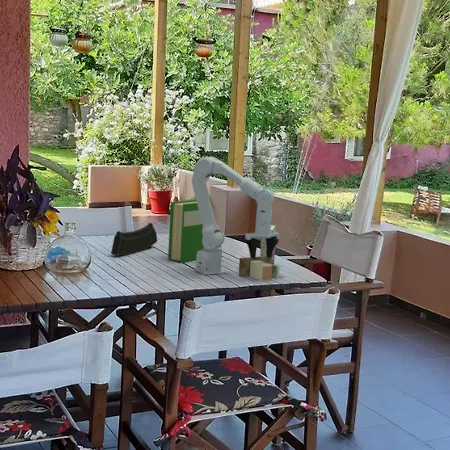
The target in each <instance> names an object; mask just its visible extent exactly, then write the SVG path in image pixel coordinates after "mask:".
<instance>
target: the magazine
mask: <svg viewBox="0 0 450 450" xmlns="http://www.w3.org/2000/svg"><path fill="white" fill-rule="evenodd" d="M157 242H158V235H157V232H156V229H155V227H154V224H153V223H152V222H149V223H147V225H145V226H143V227H142V228H139V229H136V230H132V231H127V232H121V231H119V230H118V231H116V233H115V236H114V237H113V242H112V247H111V252H110V254H111V255H114V256H121V255H124V256H125V255H133V254H137V253H140V252H143V251H145V250H147V249H148V248H149V249H152V246H153V245H155V244H156V243H157Z"/></svg>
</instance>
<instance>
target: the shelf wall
mask: <svg viewBox="0 0 450 450" xmlns="http://www.w3.org/2000/svg"><path fill="white" fill-rule="evenodd" d="M258 260H259V261H262V262H265V263H270V257H267V256H260V255H259V256H256V257H255V259H253V258H250V257H249V256H248V257H239V264H238V268H239V269H238V277H240V278H242V277H250V261H258Z"/></svg>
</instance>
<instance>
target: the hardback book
mask: <svg viewBox="0 0 450 450" xmlns="http://www.w3.org/2000/svg"><path fill="white" fill-rule="evenodd" d="M210 201H211V205H212V206H213V201H212V200H210ZM169 211H170V213H169V228H168V229H169V231H168V232H169V233H168V234H169V235H168V253H167V261H169V262H170V261H179V263H180V264H185V263H190V262H196V255H197V252H198V251H200V250H203V248H204V246H203V244H202V239H203V234H202V230H203V224H202V220H201V216H200V213H199V209H198V205H197V201H196V199H191V200H189V199H187V200H179V201H170V209H169Z"/></svg>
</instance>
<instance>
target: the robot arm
mask: <svg viewBox="0 0 450 450" xmlns="http://www.w3.org/2000/svg"><path fill="white" fill-rule="evenodd" d="M193 168H194V169H193V173H192V178H191V185H192V189H193V193H194V196H195V200H196V201H197V205H198V209H199V213H200V216H201V220H202V224H203V230H202V234H203V239H202V244H203V246H204V248H203V250H200V251H198V252H197V255H196V261H195V268H194V271H195V272H198V273H199V274H202V275H206V276H207V275H218V274H226V271H225V270H222V258H223V247H222V245H223V244H224V242H225V235H224V233H223V232H222V230H221V228H220V226H219V224H218V223H217V221H216V218H215V214H214V209H213V204H212V205H211V201H212V200H211V198H210V193H209V191H208V187H207V182H208V180H210V177H211V176H212V175H215V174H216V175H223V176H224V177H225V178H227V179H229V180H231V181H232V182H234V183H235V184H237V185H238V186H239V189H240V191H242V193H244V194H246V195H247V196H248V197H250V198H251V199H253V200H255V201H256V203H257V206H256V207H257V208H256V216H255V218H256V219H255V231H254V232H250V233H245V237H244V239H245V242H246V244H247V247H248V251H249V256H250V258H253V259H255V257H257V249H258V245H259V241H258V240H261V239H266V246H267V249H266V256H267V257H271V256H272V253H273V250H274V248H275V249H276V246H277V245H278V243H279V239H280V233H279V232H277V231H276V232H271V225H272V217H273V202H274V201H275V193H274V192H273V191H272V190H271V188H266V185H262V184H259V182H258V181H256V178H254V177H244V176H242V175H241V174H239V173H238V171H235V170H234V169H233V168H232V167H230V166H229V165H227V164H226V163H225V162H224V161H222V160H220V159H217V158H216V157H215V156H207V157H201V158H199V159H198V160H197V161H196V163H195V164H194V166H193Z"/></svg>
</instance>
